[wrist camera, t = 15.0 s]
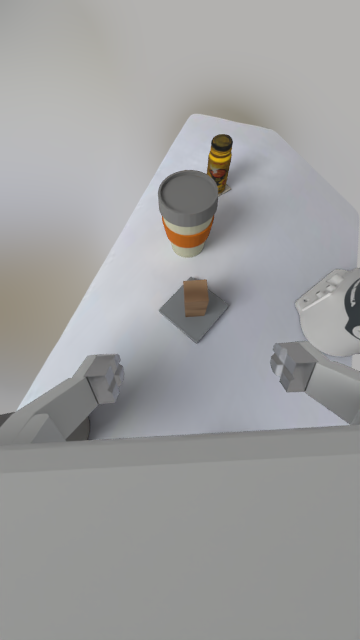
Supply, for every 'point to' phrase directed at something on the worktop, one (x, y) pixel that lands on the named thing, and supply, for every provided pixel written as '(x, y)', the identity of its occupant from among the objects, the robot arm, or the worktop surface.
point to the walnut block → (195, 297)
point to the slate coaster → (193, 325)
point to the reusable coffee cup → (188, 210)
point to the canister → (76, 435)
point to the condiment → (220, 161)
